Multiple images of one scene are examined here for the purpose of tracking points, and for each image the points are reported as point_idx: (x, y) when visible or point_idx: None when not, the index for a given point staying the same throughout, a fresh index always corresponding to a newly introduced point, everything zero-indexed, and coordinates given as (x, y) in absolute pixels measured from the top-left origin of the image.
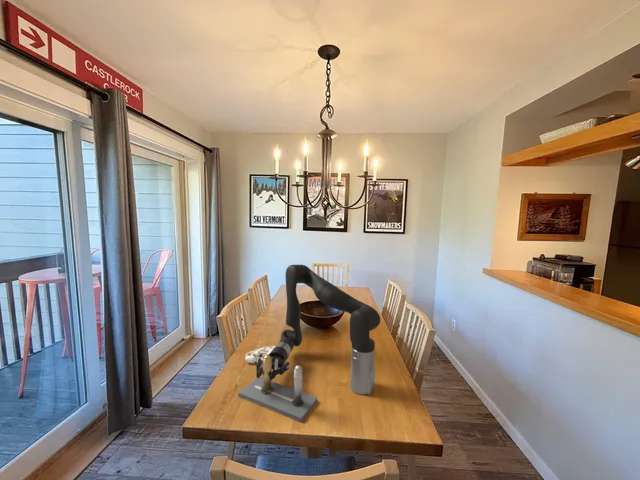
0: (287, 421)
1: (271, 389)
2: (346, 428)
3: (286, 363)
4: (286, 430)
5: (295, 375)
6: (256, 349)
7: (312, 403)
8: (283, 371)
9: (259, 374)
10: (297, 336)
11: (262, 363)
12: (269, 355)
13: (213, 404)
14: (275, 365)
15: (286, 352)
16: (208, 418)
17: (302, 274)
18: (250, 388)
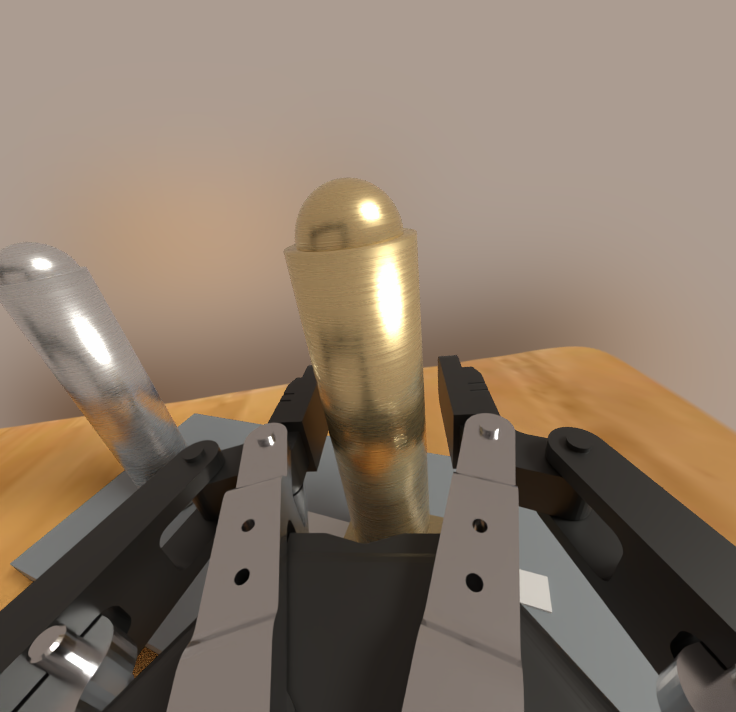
0: (256, 419)
1: (350, 523)
2: (39, 441)
3: (6, 644)
4: (262, 393)
5: (104, 301)
6: None
7: (89, 499)
8: (175, 544)
9: (440, 382)
10: None
11: (668, 707)
12: (310, 205)
13: (646, 416)
14: (270, 480)
15: None
16: (563, 368)
17: None
18: (558, 549)
